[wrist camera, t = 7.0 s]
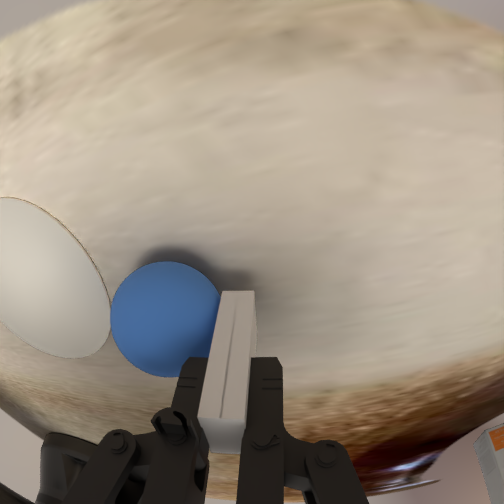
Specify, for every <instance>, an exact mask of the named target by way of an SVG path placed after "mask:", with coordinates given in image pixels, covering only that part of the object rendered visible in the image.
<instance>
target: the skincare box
mask: <svg viewBox="0 0 504 504" xmlns="http://www.w3.org/2000/svg"><path fill="white" fill-rule="evenodd" d="M474 448H475V451H476V454H477V457H478V460H479V463H480V466H481V470H482V473H483V476H484V479H485V483H486V486H487V490H488V493H489V497H490V501H491V504H504V423H503V424H501V425H498V426H495V427H493V428H490V429H487V430H485V431H484V432H483V433H482V434H481V436H480V437H479V438H478V439H477V440H476V441H475V443H474Z"/></svg>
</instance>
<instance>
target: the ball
mask: <svg viewBox="0 0 504 504" xmlns="http://www.w3.org/2000/svg"><path fill="white" fill-rule="evenodd" d="M220 300H221V297H220V295H219V293H218V291H217V290H216V288H215V286H214V285H213V284H212V283H211V282H210V280H209V279H208V278H207V277H205V276H204V275H203V274H202V273H201V272H199V271H198V270H196V269H194V268H192V267H190V266H188V265H185V264H182V263H178V262H170V261H163V262H155V263H151V264H148V265H145V266H143V267H141V268H139V269H137V270H136V271H134V272H133V273H131V274H130V275H129V276H128V277H127V278H126V279H125V280H124V281H123V282H122V284H121V285H120V286H119V288H118V290H117V291H116V293H115V296H114V298H113V301H112V305H111V312H110V325H111V330H112V335H113V338H114V340H115V342H116V344H117V346H118V348H119V350H120V351H121V353H122V354H123V355H124V356H125V358H126V359H127V360H128V361H129V362H130V363H132V364H133V365H134V366H135V367H137V368H139V369H140V370H142V371H144V372H146V373H149V374H152V375H155V376H160V377H179V375H180V371H181V367H182V365H183V364H184V363H185V361H186V360H187V359H188V358H189V357H209V354H210V349H211V344H212V339H213V334H214V329H215V324H216V320H217V315H218V310H219V305H220Z"/></svg>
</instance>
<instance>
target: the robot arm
mask: <svg viewBox="0 0 504 504" xmlns="http://www.w3.org/2000/svg"><path fill="white" fill-rule="evenodd" d="M256 347H257V324H256V309H255V295H254V291H222V295H221V300H220V305H219V310H218V315H217V320H216V324H215V329H214V334H213V339H212V344H211V349H210V354H209V357H189V358H188V359H187V360H186V361H185V363H184V364H183V365H182V367H181V371H180V375H179V379H178V382H177V388H176V390H175V394H174V397H173V401H172V405H171V407H170V408H165V409H162V410H160V411H158V412H157V413H156V414H155V415H154V416H153V418H152V420H151V423H152V424H153V426H154V428H155V429H156V431H154V432H151V433H146V434H139V435H132V434H131V433H130V432H128V431H126V430H122V429H118V430H113V431H111V432H109V433H107V434H106V435H105V436H104V437H103V439H102V440H101V442H100V443H99V445H98V446H96V445H93V444H91V443H88V442H85V441H83V440H80V439H77V438H74V437H70V436H67V435H62V434H55V433H51V434H48V435H46V437H45V440H44V442H43V445H42V447H41V464H40V490H39V493H38V496H37V499H36V502H35V503H33V502H31V501H29V500H28V499H26V498H24V497H23V496H21V495H19V494H17V493H16V492H14V491H13V490H11V489H10V488H8V487H6V486H5V485H3V484H2V483H0V504H204V502H205V495H206V488H207V480H208V473H209V460H208V453H209V448H210V451H211V453H226V454H240V465H239V477H238V489H237V500H236V504H284V486H286V487H289V488H293V489H297V490H301V491H302V494H303V497H304V500H305V503H306V504H369V502H368V500H367V497H366V495H365V493H364V490H363V488H362V486H361V483H360V481H359V478H358V476H357V474H356V471H355V469H354V467H353V464H352V462H351V460H350V457H349V455H348V453H347V451H346V449H345V448H344V446H343V445H341V444H340V443H338V442H337V441H332V440H321V441H319V442H316V443H309V442H305V441H301V440H298V439H296V438H294V437H292V436H291V435H290V434H289V433H288V432H287V431H286V429H285V427H284V423H283V370H282V365H281V364H280V362H279V360H278V358H277V357H256Z"/></svg>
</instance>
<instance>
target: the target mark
mask: <svg viewBox="0 0 504 504" xmlns="http://www.w3.org/2000/svg"><path fill="white" fill-rule="evenodd" d="M110 312H111V307H110V301H109V297H108V294H107V291H106V288H105V285H104V283H103V281H102V278H101V276H100V274H99V272H98V270H97V268H96V266H95V265H94V263H93V262H92V260H91V258H90V257H89V255H88V254H87V252H86V251H85V250H84V248H83V247H82V246H81V244H80V243H79V242H78V241H77V239H76V238H75V237H74V236H73V235H72V234H71V233H70V232H69V231H68V230H67V229H66V228H65V227H64V226H63V225H62V224H61V223H60V222H59V221H58V220H56V219H55V218H54V217H52V216H51V215H50V214H49V213H47V212H46V211H44V210H42V209H41V208H39V207H37V206H36V205H34V204H31V203H29V202H27V201H24V200H20V199H17V198H8V197H4V198H0V321H1V322H2V323H3V324H4V325H5V326H6V327H7V328H8V329H9V330H10V331H11V332H12V333H14V334H15V335H16V336H17V337H19V338H20V339H21V340H23V341H24V342H26V343H27V344H29V345H30V346H32V347H34V348H36V349H38V350H40V351H42V352H45V353H47V354H50V355H53V356H57V357H62V358H70V359H73V358H83V357H87V356H89V355H92V354H94V353H95V352H97V351H98V350H99V349H100V348H101V347H102V346H103V345H104V343H105V341H106V340H107V338H108V335H109V332H110V328H111V325H110Z"/></svg>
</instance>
